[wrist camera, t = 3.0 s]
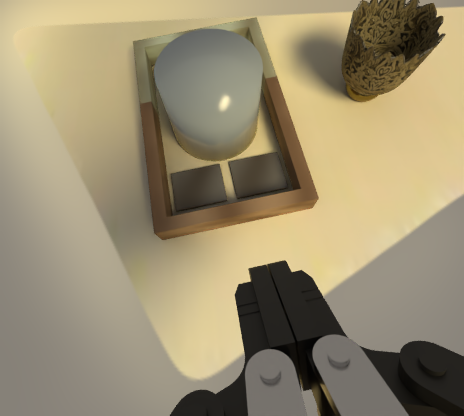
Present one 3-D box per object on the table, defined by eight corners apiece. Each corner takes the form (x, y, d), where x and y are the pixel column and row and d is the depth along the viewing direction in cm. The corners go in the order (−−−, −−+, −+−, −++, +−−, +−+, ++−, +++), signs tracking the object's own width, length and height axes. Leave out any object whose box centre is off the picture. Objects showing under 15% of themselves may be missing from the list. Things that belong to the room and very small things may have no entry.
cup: (330, 61, 32) (356, -15, 24) (396, 70, 31) (445, -6, 23) (322, 113, 29) (349, 47, 22) (394, 124, 28) (447, 59, 21)
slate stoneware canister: (245, 84, 31) (247, 20, 24) (267, 150, 28) (276, 98, 21) (168, 100, 31) (147, 39, 24) (182, 169, 28) (162, 123, 21)
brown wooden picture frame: (255, 37, 34) (256, 17, 31) (312, 208, 26) (318, 198, 23) (141, 60, 33) (133, 41, 31) (162, 240, 25) (154, 233, 23)
